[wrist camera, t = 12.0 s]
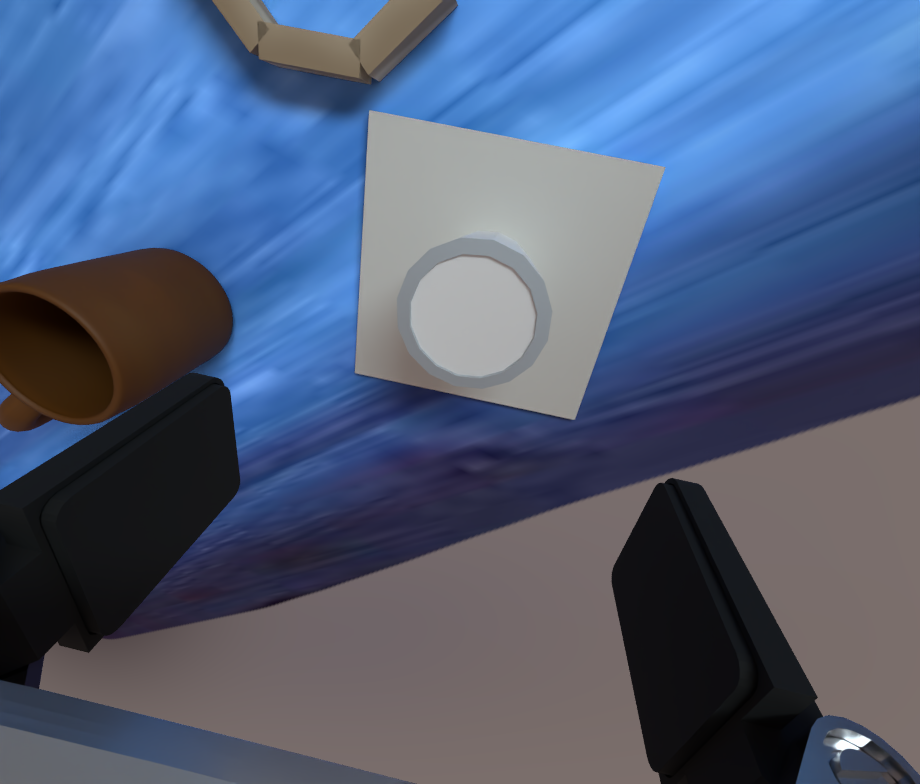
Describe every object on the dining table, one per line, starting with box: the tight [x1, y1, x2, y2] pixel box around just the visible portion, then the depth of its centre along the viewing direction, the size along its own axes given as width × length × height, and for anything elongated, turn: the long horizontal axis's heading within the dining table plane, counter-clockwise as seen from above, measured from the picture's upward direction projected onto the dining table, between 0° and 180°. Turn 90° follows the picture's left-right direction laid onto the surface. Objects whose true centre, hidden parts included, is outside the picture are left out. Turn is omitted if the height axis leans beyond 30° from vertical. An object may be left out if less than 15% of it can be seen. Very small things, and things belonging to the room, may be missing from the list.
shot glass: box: [397, 231, 552, 389], centre depth 22 cm, size 7×7×7 cm
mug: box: [0, 248, 233, 432], centre depth 25 cm, size 12×8×9 cm, turn 129°
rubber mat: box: [355, 110, 665, 420], centre depth 25 cm, size 15×15×1 cm
